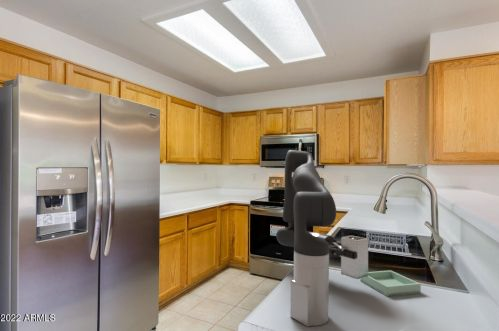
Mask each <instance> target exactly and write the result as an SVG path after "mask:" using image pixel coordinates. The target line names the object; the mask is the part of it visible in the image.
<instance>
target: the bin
mask: <svg viewBox="0 0 499 331" xmlns="http://www.w3.org/2000/svg"><path fill="white" fill-rule="evenodd" d="M360 282H361V283H363V284H365V285H366V286H369V287H370V288H372V289H373V290H375V291H377V292H378V293H380V294H382V295H384V296H385V297H397V296H405V295H406V296H407V295H414V294H415V295H416V294H421V292H422V290H421V289H422V288H421V287H422V286H421V285H422V284H421V282H417V281H415V280H413V279H411V278H408V277H407V276H404V275H402V274H401V273H398V272H395V271H393V270H391V269H390V270H378V271H368V276H366V277H363V278H360Z"/></svg>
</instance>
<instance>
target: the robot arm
mask: <svg viewBox="0 0 499 331" xmlns="http://www.w3.org/2000/svg"><path fill="white" fill-rule="evenodd" d="M284 159H285V160H284V161H285V162H284V200H283V208H282V209H283V210H282V220H283V221H284V222H286V223H288V226H287V227H281V228H279V229H278V230H277V232H276V235H275V237H276V241H277V242H278V243H279V244H280V245H282V246H286V247H291V248H293V279H292V280H290V311H289V312H290V317H291V318H292V319H294V320H295V321H297V322H299V323H301V325H304V326H306V327H310V326H323V325H324V324H327V323H328V321H329V306H330V304H329V296H330V294H329V290H330V289H329V288H330V281H329V280H330V279H329V278H330V277H329V275H330V257H334V258H336V259H337V258H341V257H348V258H351V259H356V252H353V251H349V250H345V249H343V248H341V241H336V238H335V237H334V236H332V235H329V234H324V233H319V232H313V231H308V230H307V227H330V226H331V225H332V224H334V223H335V220H336V219H337V218H336V217H337V207H336V206H337V205H336V202H335V200H334V198H333V196H332V195H333V194H331V192H330V191H329V190H328V189H327V187H326V186H325V185H324V183H323V181H322V178H321V176H320V173H319V172H318V170H317V168H316V166H315V160H314V158H313V155H312V154H311V152H309V151H305V150H304V151H303V150H297V149H296V150H294V149H289V150H288V151H287V152H286V155H285V158H284Z"/></svg>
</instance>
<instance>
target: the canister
mask: <svg viewBox="0 0 499 331" xmlns="http://www.w3.org/2000/svg"><path fill="white" fill-rule="evenodd" d="M340 242H341V248H343V249H345V250H349V251H353V252H356V259H351V258H348V257H341V256H340V274H341V275H343V276H346V277H349V278H352V279H354V280H361V278H363V277H366V276H368V272H369V238H365V237H361V236H355V235H346V236H342V237H341V239H340Z"/></svg>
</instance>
